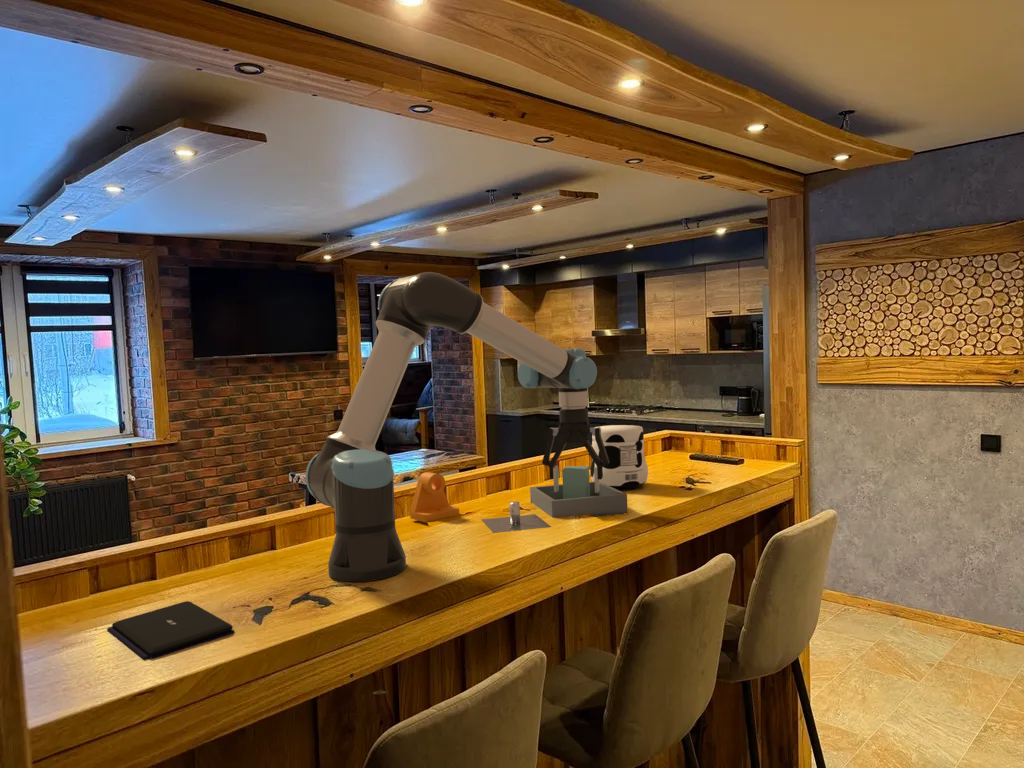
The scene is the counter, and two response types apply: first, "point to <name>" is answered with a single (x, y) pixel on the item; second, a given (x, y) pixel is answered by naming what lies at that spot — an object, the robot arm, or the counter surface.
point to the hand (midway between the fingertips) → (576, 491)
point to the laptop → (169, 630)
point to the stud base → (515, 527)
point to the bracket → (431, 499)
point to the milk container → (622, 456)
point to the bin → (579, 501)
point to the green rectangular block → (576, 482)
